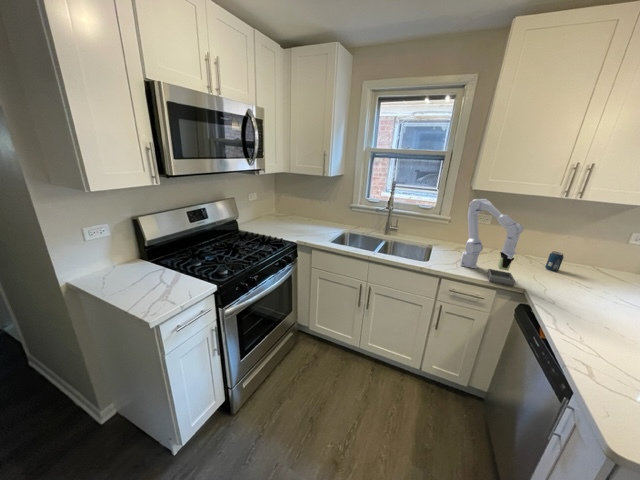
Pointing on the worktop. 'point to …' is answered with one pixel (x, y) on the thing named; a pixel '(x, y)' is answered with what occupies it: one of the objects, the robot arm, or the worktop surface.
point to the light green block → (502, 264)
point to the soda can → (554, 261)
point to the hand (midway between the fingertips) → (503, 265)
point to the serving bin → (500, 277)
